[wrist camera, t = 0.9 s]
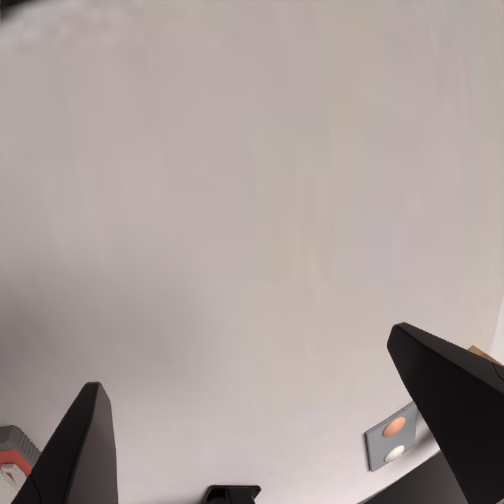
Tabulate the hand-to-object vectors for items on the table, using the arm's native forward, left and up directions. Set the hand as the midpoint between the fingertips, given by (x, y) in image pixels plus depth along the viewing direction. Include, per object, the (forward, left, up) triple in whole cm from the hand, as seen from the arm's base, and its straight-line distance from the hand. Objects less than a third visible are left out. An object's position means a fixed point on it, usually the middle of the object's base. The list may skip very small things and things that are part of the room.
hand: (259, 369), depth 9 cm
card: (-19, -33, -15) cm, 41 cm away
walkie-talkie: (-33, +12, -16) cm, 38 cm away
